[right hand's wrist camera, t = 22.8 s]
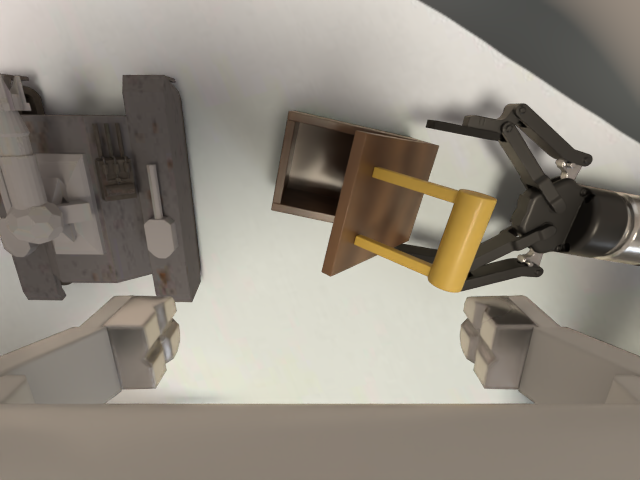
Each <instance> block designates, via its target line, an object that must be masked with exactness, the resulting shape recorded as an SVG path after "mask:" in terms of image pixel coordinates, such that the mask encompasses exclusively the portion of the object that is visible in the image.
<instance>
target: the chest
mask: <svg viewBox="0 0 640 480" xmlns="http://www.w3.org/2000/svg"><path fill="white" fill-rule="evenodd" d="M287 119H288V120H287V124H286V129H285V135H284V141H283V146H282V152H281V158H280V163H279V169H278V175H277V180H276V186H275V191H274V197H273V203H272V208H271V210H274V211H278V212H283V213H288V214H293V215H298V216H302V217H307V218H312V219H317V220H321V221H326V222H331V223H334V218H335V214H336V210H337V206H338V202H339V198H340V194H341V189H342V185H343V181H344V177H345V173H346V169H347V165H348V160H349V156H350V152H351V148H352V144H353V140H354V136H355V132H356V131H363V132H368V133H374V134H380V135H385V136H391V137H396V138H402V139H408V140H413V141H419V142H424V141H421V140H418V139H414V138H411V137H407V136H403V135H399V134H394V133H390V132H386V131H381V130H377V129H373V128H368V127H364V126H360V125H355V124H351V123H347V122H342V121H338V120H334V119H329V118H325V117H321V116H316V115H312V114H308V113H303V112H299V111H289V112H288V118H287ZM424 143H428V142H424ZM430 144H431V143H430Z"/></svg>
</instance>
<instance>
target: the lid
mask: <svg viewBox="0 0 640 480" xmlns="http://www.w3.org/2000/svg"><path fill="white" fill-rule="evenodd" d="M438 148H439V145H435V144H430V143H424V142H419V141H413V140H408V139H402V138H396V137H391V136H385V135H380V134H374V133H368V132H363V131H356V132H355V136H354V140H353V144H352V148H351V152H350V156H349V160H348V165H347V169H346V173H345V177H344V181H343V185H342V189H341V194H340V198H339V202H338V206H337V210H336V214H335V218H334V223H333V227H332V231H331V235H330V239H329V243H328V247H327V251H326V256H325V260H324V264H323V268H322V272H323V273H325V274H327V275H329V276H333V275H335V274H337V273H340V272H342V271H344V270H346V269H348V268H350V267H353V266H355V265H357V264H359V263H361V262H363V261H366V260H368V259H370V258H372V257H374V256H376V255H380V256H382V257H384V258H386V259H389V260H391V261H393V262H396V263H398V264H400V265H403V266H405V267H407V268H409V269H412V270H414V271H416V272H419V273H421V274H423V275H426V276H428V281H429V282H430V283H431V284H432V285H434V286H435V287H437V288H439V289H442V290H445V291H448V292H460V291H461V290H462V288H463V285H464V283H465V280H466V278H467V275H468V273H469V270H470V268H471V265H472V262H473V260H474V257H475V255H476V252H477V250H478V247H479V245H480V242H481V240H482V237H483V235H484V232H485V230H486V227H487V225H488V222H489V220H490V217H491V215H492V212H493V210H494V207H495V205H496V202H497V199H495V198H493V197H491V196H488V195H485V194H482V193H479V192H475V191H471V190H465V189H460V190H459V191H458V190H455V189H451V188H448V187H445V186H441V185H438V184H435V183H431V182H428V179H429V176H430V173H431V170H432V167H433V164H434V161H435V158H436V154H437V151H438ZM424 194H427V195H430V196H433V197H436V198H439V199H443V200H446V201H449V202H452V203H454V205H453V208H452V211H451V214H450V217H449V220H448V222H447V225H446V228H445V231H444V234H443V236H442V239H441V242H440V245H439V248H438V250H437V253H436V256H435V259H434V262H433V264H431V263H428V262H426V261H424V260H421V259H419V258H416V257H414V256H411V255H409V254H407V253H404V252H402V251H399V250H397V249H395V248H394V247H396V246H398V245H400V244H403V243H405V242H407V241H409V238H410V235H411V232H412V229H413V226H414V222H415V219H416V216H417V213H418V210H419V207H420V204H421V201H422V198H423V195H424Z"/></svg>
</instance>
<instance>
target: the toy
mask: <svg viewBox="0 0 640 480" xmlns="http://www.w3.org/2000/svg"><path fill="white" fill-rule="evenodd" d="M11 80H13V82H12V85H11ZM21 81H29V79H28V77H23V76H16V75H15V76H14V75H5V74H0V237H1V240H2V243H3V246H4V249H6V250H7V251H8V252H9V253H10V254H12V257H13V260H14V264H15V267H16V270H17V273H18V276H19V280H20V283H21V286H22V289H23V292H24V294H25V295H26V297H27V298H28V300H63V299H64V298H65V297H66V294H65V292H64V290H63V289H62V286H61V285H69V284H71V283H119V282H122V281H126V280H130V279H134V278H138V277H142V276H145V275H149V274H153V280H154V286H155V292H156V295H157V296H170V297H172V298H173V299H174V300H175V302H192V301H193V299H194V296H195V294H196V291H197V289H198V287H199V284H200V282H201V279H200V259H199V250H198V241H197V233H196V224H195V216H194V207H193V199H192V190H191V181H190V173H189V164H188V156H187V147H186V138H185V130H184V121H183V113H182V104H181V98H180V95H179V92H178V91H177V89H176V88H175V87H174V86H173V85H172V83H171V82H175V79H174V78H170V77H167V76H165V75H123V99H124V105H125V111H126V116H104V115H45V113H44V109H43V105H42V101H41V97H40V96H39V94H38V93H37V92H36V91H34V90H33V89H31V88H29V87H26V86H22V84H21Z"/></svg>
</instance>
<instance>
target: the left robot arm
mask: <svg viewBox="0 0 640 480" xmlns="http://www.w3.org/2000/svg"><path fill="white" fill-rule="evenodd" d="M515 125H516V126H517V127H518V128H520V129H521V130H522V131H523V132H524V133H525V134H526V135H527V136H528V137H529V138H531V139H532V140H533V141H534V142H535V143H536V144H537V145H538V146H539V147H540V148H541V149H543V150H544V151H545V152H546V153H547V154H548V155H549V156H551V157H553V158H555V159H557V160H556V162H555V163H556V165H557V167H558V168H559V169H560V170H561V176H557V177H555V178H552V179H550V178H549V177H548V176H547V175H545V174H544V172H543V171H542V169H541V167H540V166H539V164H538V162H537V161H536V159H535V158H534V156H533V154H532V153H531V151H530V149H529V148H528V146H527V144H526V143H525V141H524V139H523V138H522V136H521V134H520V133H519V131H518V129H517V128H516V126H515ZM426 128H431V129H437V130H442V131H447V132H452V133H457V134H463V135H468V136H473V137H478V138H483V139H489V140H495V141H498V142H499V143H500V145H501V146H502V148H503V149H504V151H505V153H506V154H507V156H508V157H509V159H510V161H511V162H512V164H513V165H514V167H515V168H516V170H517V172H518V173H519V175H520V176H521V178H520V179H521V181H522V183H523V184H524V186H525V187H526V189H527V190H526V191H525V192H524V193H523V194H520V196H519V198H518V201H517V208H516V210H515V211H514V213H513V214H512V217H511V219H510V221H511V222H512V226H510V227H508V228H506V229H504V230H502V231H501V232H500V234H499V235H497V236H495V237H493V238H491V239H489V240H487V241H485V242H483V243H481V244H480V245H479V247H478V250H477V252H476V255H475V257H474V260H473V262H472V265H471V268H470V270H469V273H468V275H467V278H466V280H465V283H464V285H463V288H462V290H461V291H465V290H469V289H473V288H477V287H481V286H485V285H489V284H493V283H497V282H501V281H505V280H509V279H513V278H517V277H521V276H527V277H539V276H541V275H542V274H543V269H542V268H541V267H540V266H539V265H540V261H541V258H542V255H543V253H547V252H551V251H554V252H560V253H565V254H571V255H577V256H582V257H589V258H595V259H599V260H605V261H612V262H618V263H624V264H631V265H636V266H640V196H638V195H633V194H628V193H622V192H614V191H611V190H606V189H601V188H596V187H590V186H585V185H580V184H578V183H577V182H576V181H575V178H576V176H577V174H578V173H579V171H580V169H581V167H582V166H588V165H590V164H591V162H592V156H591V155H590V154H587V153H584V152H581V151H578V150H575V149H574V148H572V147H571V146H570V145H569V144H568V143H567V142H566V141H565V140H564V139H563V138H562V137H561V136H560V135H559V134H558V133H556V132H555V131H554V130H553V129H552V128H551V127H550V126H549V125H548V124H547V123H546V122H545V121H544V120H543V119H542V118H541V117H539V116H538V115H537V114H536V113H535V112H534V111H533V110H532V109H531V108H530V107H529V106H528V105H526V104H508V105H506V106H505V108H504V111H503V114H502V115H501V116H500V117H499V118H498V119H492V118H487V117H481V116H476V115H469V116H465V117H464V121H463V124H462V126H461V125H456V124H451V123H446V122H441V121H435V120H427V124H426ZM516 236H519V237H516ZM526 247H528V248H529V249H530V250H529V252H528V253H526V254H523V255H518V256H517V258H510V259H505V260H501V261H497V262H493V263H489V262H491V261H494V260H496V259H498V258H500V257H502V256H504V255H506V254H508V253H510V252H512V251H519V250H522V249H524V248H526ZM394 248H395V249H397V250H399V251H402V252H404V253H407V254H409V255H411V256H414V257H416V258H419V259H421V260H424V261H426V262H428V263H431V264H433V262H434V259H435V256H436V253H437V250H436V249H430V248H424V247H419V246H413V245H407V244H400V245H398V246H396V247H394ZM487 263H489V264H487ZM461 291H460V292H461Z"/></svg>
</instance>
